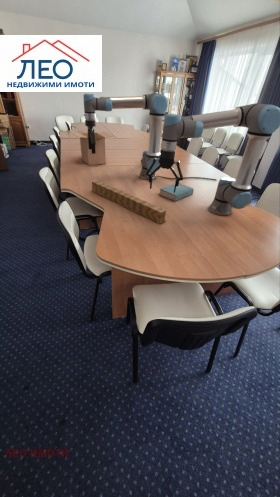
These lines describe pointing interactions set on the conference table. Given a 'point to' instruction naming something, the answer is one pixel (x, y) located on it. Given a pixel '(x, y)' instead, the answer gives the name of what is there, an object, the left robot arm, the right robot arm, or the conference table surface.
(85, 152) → the box
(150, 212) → the post
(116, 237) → the conference table surface
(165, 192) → the book
